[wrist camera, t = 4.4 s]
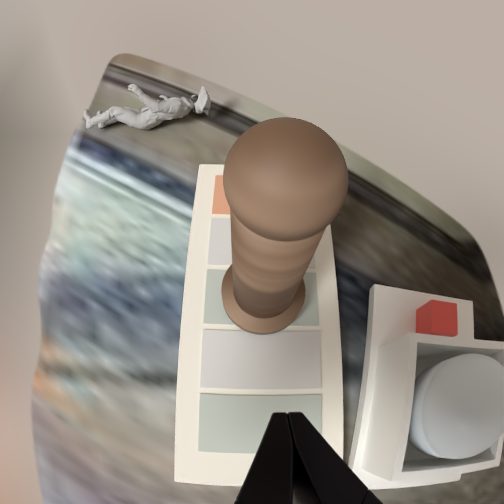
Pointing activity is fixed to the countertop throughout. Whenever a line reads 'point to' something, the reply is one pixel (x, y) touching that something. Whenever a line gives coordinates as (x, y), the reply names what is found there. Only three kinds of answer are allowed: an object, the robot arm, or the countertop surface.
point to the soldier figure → (149, 111)
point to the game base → (410, 386)
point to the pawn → (277, 218)
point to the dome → (458, 407)
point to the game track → (248, 355)
